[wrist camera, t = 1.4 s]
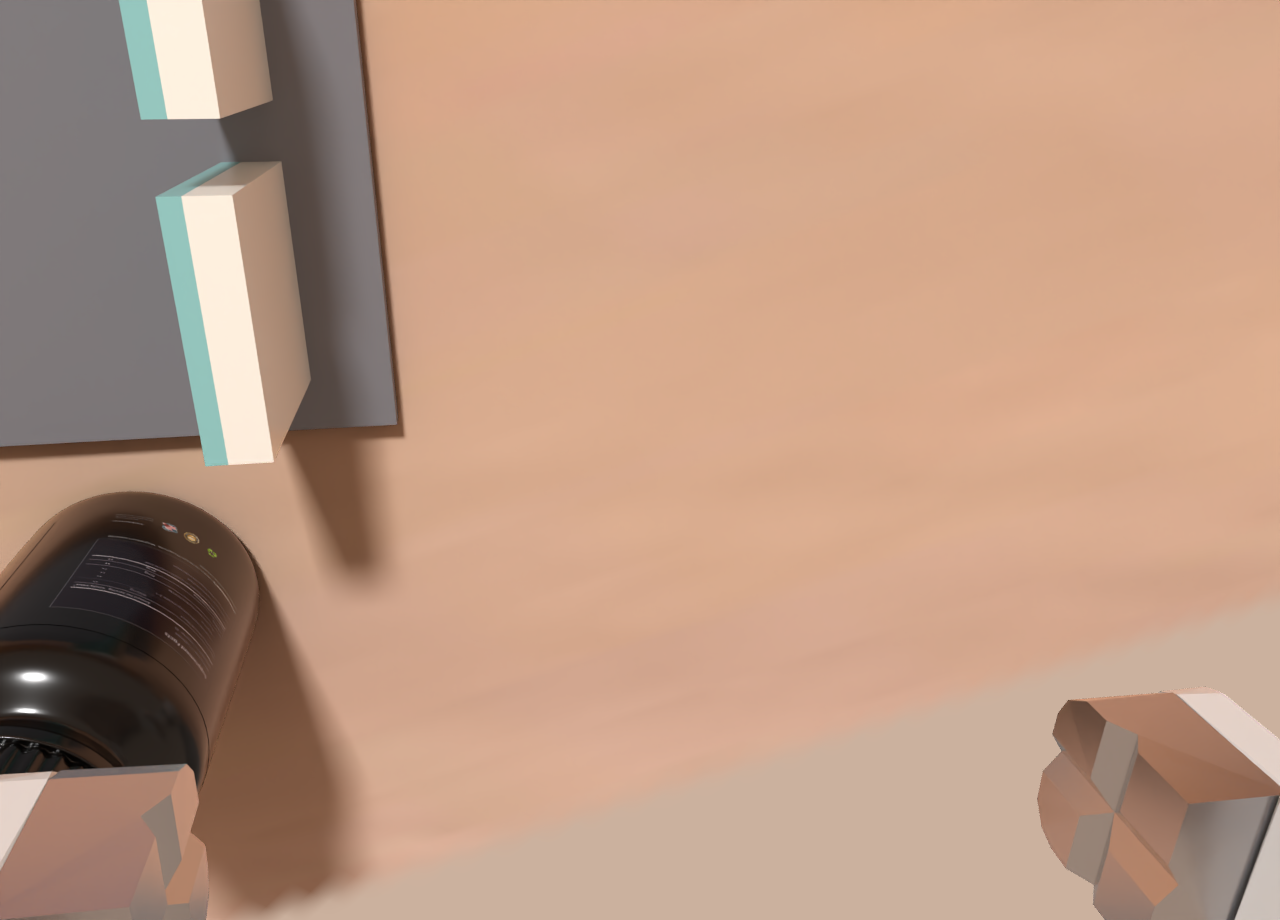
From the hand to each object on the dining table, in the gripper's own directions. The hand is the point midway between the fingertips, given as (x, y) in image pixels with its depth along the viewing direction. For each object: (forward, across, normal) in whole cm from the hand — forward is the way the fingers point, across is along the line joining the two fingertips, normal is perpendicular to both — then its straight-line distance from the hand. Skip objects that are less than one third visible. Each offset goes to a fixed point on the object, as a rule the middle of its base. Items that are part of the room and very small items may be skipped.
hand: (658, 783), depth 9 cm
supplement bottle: (+22, +11, +10) cm, 26 cm away
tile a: (+21, +7, 0) cm, 22 cm away
